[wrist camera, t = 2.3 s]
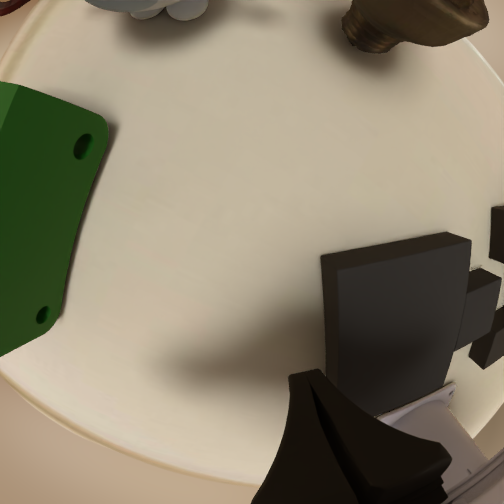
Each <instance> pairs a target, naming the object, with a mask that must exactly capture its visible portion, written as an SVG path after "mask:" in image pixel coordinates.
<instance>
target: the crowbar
mask: <svg viewBox="0 0 504 504" xmlns="http://www.w3.org/2000/svg"><path fill="white" fill-rule="evenodd" d="M29 1H30V0H10V1H7V2H0V16H4V15H7V14H9V13H11V12H13V11H15V10H16V9H18V8H20V7H21V6H23V5H24V4H25V3H27V2H29Z"/></svg>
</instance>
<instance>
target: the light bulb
mask: <svg viewBox="0 0 504 504" xmlns="http://www.w3.org/2000/svg"><path fill="white" fill-rule="evenodd" d="M341 22H342V30H343V31H344V33H345V34H346V36H347V38H348V40H349V42H350V43H351V44H352V46H356V47H357V48H358V49H359V50H361V51H363V52H368V53H377V54H381V53H387V52H388V51H390V50H391V48H392V47H394V46H395V45H397V44H398V43H400V42H404V41H407V42H412V43H415V44H419V45H424V46H431V47H436V46H444V45H447V44H450V43H452V42H455V41H457V40H459V39H461V38H464V37H467V36H470V35H472V34H474V33H476V32H478V31H480V30H482V29H484V28H485V27H486V26H487V24H488V23H489V16H488V11H487V8H486V6H485V4H484V0H352V5H351V7H350V9H349V11H347V12H346V14H345V15H344V16H343V17H342V19H341Z"/></svg>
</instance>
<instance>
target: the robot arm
mask: <svg viewBox="0 0 504 504" xmlns="http://www.w3.org/2000/svg"><path fill="white" fill-rule="evenodd" d="M288 382H289V391H290V400H289V410H288V416H287V421H286V426H285V430H284V434H283V437H282V440H281V443H280V446H279V449H278V452H277V454H276V457H275V459H274V462H273V464H272V466H271V468H270V470H269V472H268V474H267V476H266V478H265V480H264V482H263V483H262V485H261V487H260V488H259V490H258V492H257V493H256V495H255V496H254V498H253V500H252V502H251V504H504V448H503V449H502V450H501V451H499V452H498V453H497V454H496V455H495V456H494V457H493V458H491V459H490V460H489V461H488V459H487V458H486V457H485V455H484V454H483V453H482V451H481V450H480V449H479V447H478V446H477V445H476V443H475V442H474V441H473V439H472V438H471V437H470V435H469V434H468V433H467V431H466V430H465V429H464V428H463V426H462V425H461V424H460V423H459V421H458V420H457V419H456V418H455V416H454V415H453V414H452V413H451V411H450V410H449V409H448V406H449V403H450V401H451V399H452V396H453V394H454V391H455V389H456V386H457V385H456V383H455V382H452V383H450V384H449V385H447V386H445V387H443V388H441V389H439V390H437V391H435V392H433V393H431V394H429V395H427V396H425V397H423V398H421V399H419V400H417V401H414V402H412V403H410V404H408V405H405V406H403V407H401V408H398V409H396V410H393V411H391V412H388V413H386V414H383V415H381V416H379V417H378V418H377V419H376V418H375V417H373V416H372V415H370V414H368V413H367V412H365V411H364V410H363V409H361V408H360V407H359V406H357V405H356V404H355V403H353V402H352V401H351V400H350V399H349V398H347V397H346V396H345V395H344V394H343V393H342V392H341V391H340V390H339V389H337V388H336V387H335V386H334V385H333V384H332V383H331V382H330V380H329V379H328V378H327V377H326V376H325V375H324V374H323V373H322V371H321V370H319V369H314V370H310V371H305V372H300V373H296V374H291V375H289V376H288Z"/></svg>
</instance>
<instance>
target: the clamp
mask: <svg viewBox="0 0 504 504" xmlns="http://www.w3.org/2000/svg"><path fill="white" fill-rule="evenodd" d="M108 136H109V131H108V125H107V123H106V121H105V119H104V118H103V117H102V116H100V115H99V114H96V113H94V112H91V111H89V110H86V109H84V108H81V107H79V106H76V105H74V104H71V103H69V102H66V101H63V100H61V99H58V98H55V97H53V96H50V95H47V94H45V93H42V92H39V91H36V90H33V89H30V88H27V87H24V86H21V85H18V84H12V83H7V82H1V81H0V357H1V356H3V355H5V354H7V353H9V352H11V351H13V350H14V349H16V348H18V347H20V346H22V345H24V344H26V343H28V342H30V341H32V340H34V339H35V338H37V337H39V336H41V335H43V334H45V333H46V332H47V331H49V330H50V329H51V327H52V326H53V325H54V323H55V322H56V320H57V318H58V316H59V314H60V310H61V304H62V297H63V291H64V285H65V280H66V275H67V270H68V265H69V260H70V256H71V252H72V248H73V244H74V240H75V236H76V232H77V229H78V225H79V222H80V218H81V215H82V212H83V208H84V205H85V202H86V199H87V196H88V193H89V190H90V188H91V185H92V182H93V179H94V177H95V174H96V172H97V169H98V166H99V164H100V161H101V159H102V157H103V154H104V152H105V149H106V146H107V143H108Z"/></svg>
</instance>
